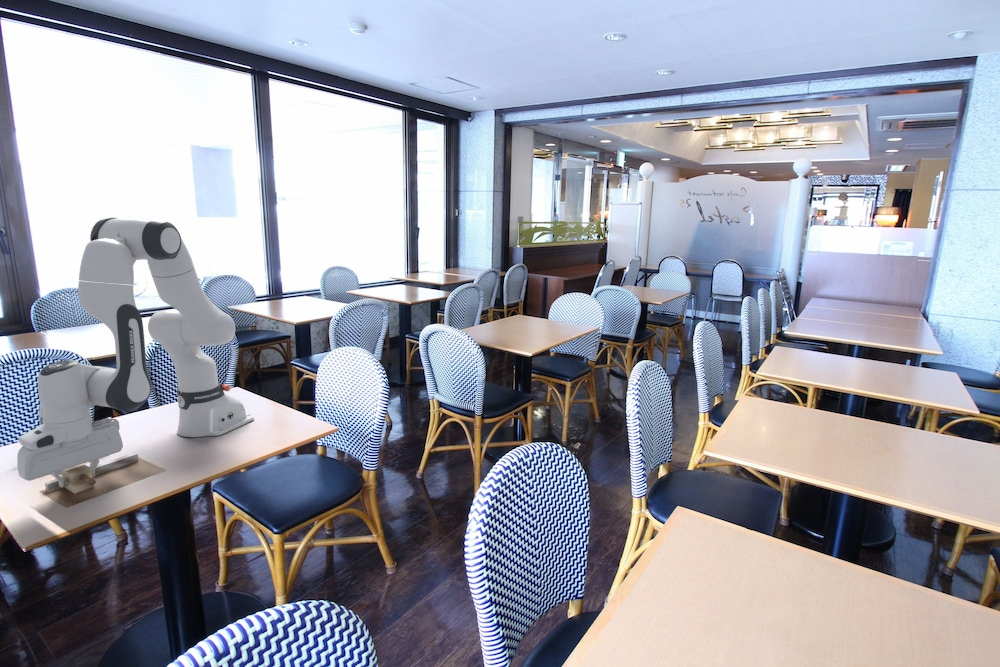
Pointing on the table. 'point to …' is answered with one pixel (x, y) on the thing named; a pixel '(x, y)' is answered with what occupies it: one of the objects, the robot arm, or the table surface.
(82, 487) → the wooden mallet
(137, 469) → the walnut board
